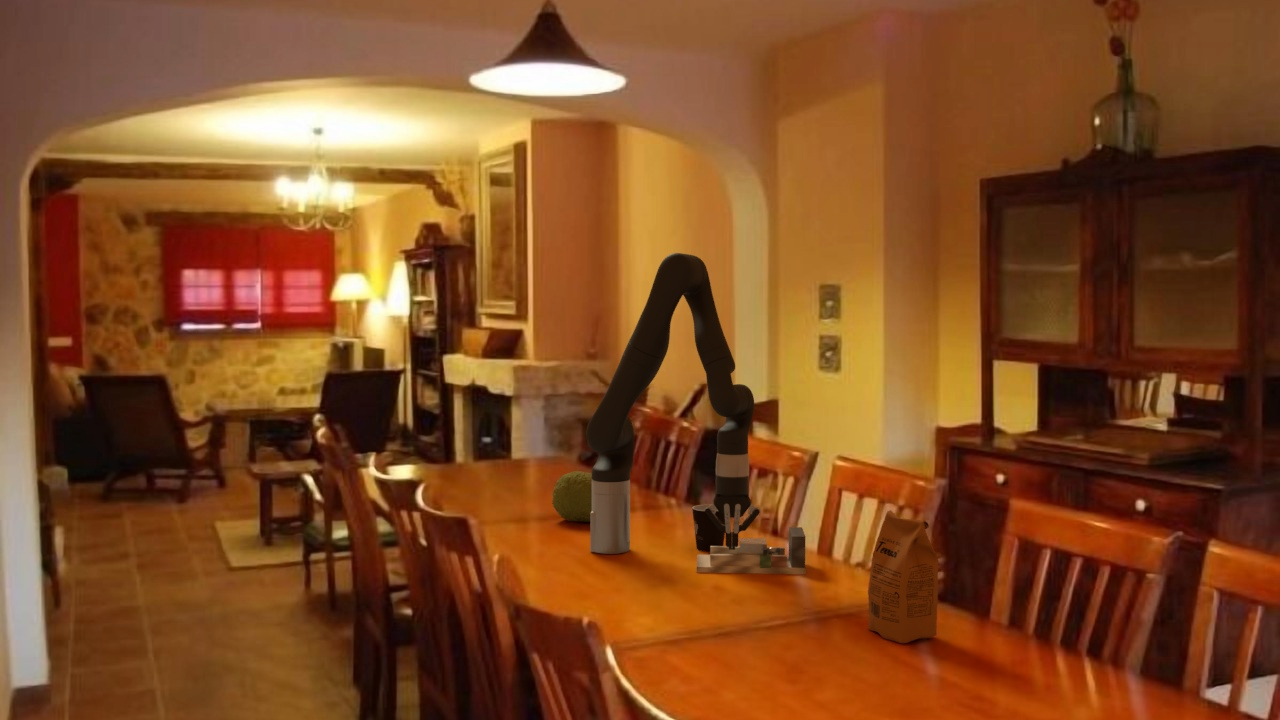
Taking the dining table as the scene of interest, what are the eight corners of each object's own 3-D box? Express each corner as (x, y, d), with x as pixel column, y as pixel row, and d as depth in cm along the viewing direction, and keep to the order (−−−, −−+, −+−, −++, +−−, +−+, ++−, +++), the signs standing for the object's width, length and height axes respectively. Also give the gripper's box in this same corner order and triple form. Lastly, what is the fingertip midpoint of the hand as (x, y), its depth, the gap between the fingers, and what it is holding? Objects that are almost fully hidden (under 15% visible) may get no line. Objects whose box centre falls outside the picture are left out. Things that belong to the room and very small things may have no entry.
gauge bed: (696, 572, 254) (696, 535, 253) (697, 559, 266) (697, 524, 265) (805, 574, 252) (805, 537, 252) (801, 561, 264) (801, 526, 264)
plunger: (740, 566, 253) (740, 546, 253) (739, 557, 262) (739, 538, 262) (781, 567, 252) (781, 547, 252) (778, 557, 261) (778, 538, 261)
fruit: (605, 514, 319) (622, 470, 313) (599, 543, 307) (616, 498, 300) (550, 496, 319) (565, 452, 312) (541, 524, 306) (557, 479, 299)
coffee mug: (725, 553, 272) (725, 512, 271) (689, 551, 274) (689, 510, 273) (731, 543, 283) (731, 503, 283) (696, 541, 285) (696, 501, 284)
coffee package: (904, 622, 216) (906, 507, 215) (944, 641, 204) (946, 519, 203) (859, 627, 212) (860, 510, 211) (897, 647, 201) (899, 523, 199)
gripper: (702, 475, 254) (702, 552, 255) (762, 476, 253) (761, 553, 254) (703, 470, 262) (702, 544, 263) (761, 470, 261) (760, 545, 262)
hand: (732, 548), depth 259 cm, fingers closed
